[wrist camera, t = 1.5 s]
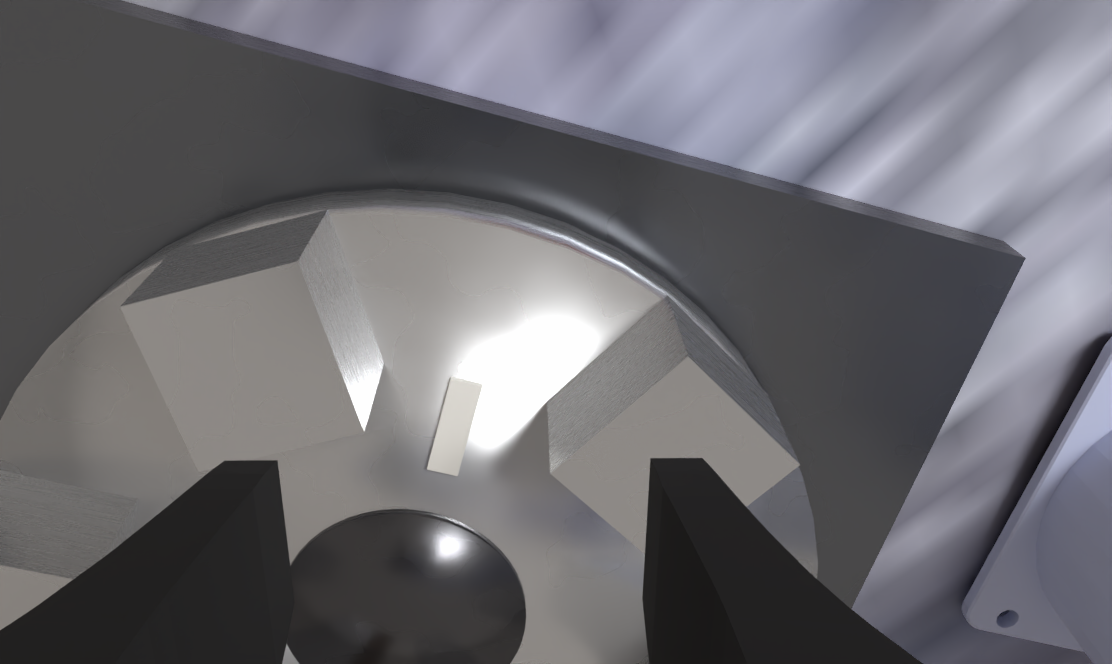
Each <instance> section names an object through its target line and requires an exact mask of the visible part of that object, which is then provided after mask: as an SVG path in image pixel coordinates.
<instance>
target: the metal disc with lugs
mask: <svg viewBox="0 0 1112 664" xmlns="http://www.w3.org/2000/svg"><path fill="white" fill-rule="evenodd" d="M650 458H703V459H704V460H705V461H706V462H707V463H708V464H709V465H710V466H711V467H712V469H713V470H714V471H715V472H716V473H717V474H718V475H719V476H720V478H721V479H722V480H723V481H724V482H725V483H726V484H727V486H728V487H729V488H730V489H731V490H732V491H733V492H734V494H735V495H736V496H737V497H738V498H739V499H740V500H741V502H742V503H743V504H744V505H745V506H746V507H747V508H748V509H749V510H750V511H751V513H752V514H753V515H754V516H755V517H756V518H757V519H758V520H759V521H760V522H761V524H762V525H763V526H764V527H765V528H766V529H767V530H768V531H769V532H770V533H771V534H772V535H773V536H774V537H775V538H776V539H777V540H778V541H779V542H780V543H781V544H782V545H783V546H784V547H785V548H786V549H787V550H788V551H789V552H790V553H791V554H792V555H793V556H794V557H795V558H796V559H797V560H798V562H799V563H800V564H801V565H802V566H803V567H805V568H806V569H807V570H808V571H809V572H810V573H811V574H812V575H813V576H814V577H815V578H816V579H817V572H818V558H817V547H816V537H815V527H814V518H813V514H812V510H811V507H810V503H809V499H808V495H807V491H806V488H805V484H804V480H803V476H802V473H801V471H800V468H799V465H800V463H799V461H798V459H797V457H796V454H795V452H794V450H793V448H792V446H791V444H790V442H789V439H788V437H787V435H786V433H785V431H784V429H783V426H782V424H781V422H780V420H779V418H778V416H777V414H776V411H775V409H774V407H773V405H772V403H771V401H770V399H769V396H768V394H767V393H766V392H765V391H764V390H763V388H762V387H761V385H760V384H759V382H758V381H757V379H756V377H755V376H754V374H753V373H752V371H751V370H750V368H749V367H748V365H747V363H746V362H745V360H744V359H743V357H742V356H741V354H740V353H739V351H738V350H737V349H736V348H735V346H734V345H733V344H732V343H731V342H730V341H729V340H728V338H727V337H726V336H725V335H724V334H723V333H722V332H721V330H720V329H719V328H718V327H717V326H716V325H715V323H714V322H713V321H712V320H711V319H710V318H709V317H708V315H707V314H706V313H705V312H704V311H703V310H701V309H700V308H699V307H698V306H697V305H696V304H694V303H693V302H692V301H691V300H690V299H689V298H687V297H686V296H685V295H684V294H683V293H682V292H681V291H679V290H678V289H677V288H676V287H675V286H674V285H672V284H671V283H670V282H669V281H668V280H667V279H665V278H664V277H663V276H661V275H660V274H658V273H657V272H655V271H653V270H652V269H650V268H649V267H647V266H646V265H644V264H643V263H641V262H640V261H638V260H637V259H635V258H633V257H632V256H630V255H629V254H627V253H626V252H624V251H623V250H621V249H620V248H618V247H616V246H614V245H612V244H610V243H608V242H606V241H603V240H601V239H599V238H597V237H595V236H593V235H591V234H589V233H587V232H585V231H582V230H580V229H578V228H576V227H574V226H572V225H570V224H568V223H566V222H563V221H560V220H556V219H553V218H550V217H547V216H544V215H541V214H538V213H535V212H532V211H529V210H526V209H523V208H520V207H517V206H514V205H511V204H507V203H501V202H496V201H491V200H486V199H481V198H475V197H470V196H465V195H460V194H455V193H449V192H434V191H419V190H403V189H374V190H358V191H341V192H327V193H322V194H317V195H312V196H307V197H301V198H296V199H291V200H286V201H281V202H275V203H270V204H267V205H264V206H261V207H258V208H255V209H252V210H249V211H246V212H243V213H240V214H237V215H234V216H231V217H228V218H225V219H222V220H219V221H216V222H214V223H212V224H210V225H208V226H206V227H204V228H202V229H200V230H198V231H196V232H194V233H192V234H190V235H188V236H186V237H184V238H182V239H180V240H178V241H176V242H174V243H171V244H169V245H167V246H165V247H164V248H162V249H161V250H159V251H158V252H157V253H155V254H154V255H152V256H151V257H149V258H148V259H146V260H145V261H144V262H142V263H141V264H139V265H138V266H136V267H135V268H133V269H132V270H131V271H129V272H128V273H126V274H125V275H123V276H122V277H120V278H119V279H118V280H117V281H116V282H115V283H114V284H113V285H112V286H111V287H110V288H109V289H108V290H107V291H105V292H104V293H103V294H102V295H101V296H100V297H99V298H98V299H97V300H96V301H95V302H94V303H93V304H92V305H91V306H90V307H89V308H88V309H86V310H85V311H84V312H83V313H82V314H81V315H80V316H79V317H78V318H77V319H76V320H75V321H74V322H73V323H72V324H71V325H70V326H69V327H68V328H67V329H66V330H65V331H64V332H63V333H62V334H61V335H60V336H59V337H58V338H57V339H56V340H55V341H54V342H53V343H52V344H51V345H50V346H49V347H48V349H47V350H46V351H45V352H44V354H43V355H42V356H41V358H40V359H39V360H38V362H37V363H36V364H35V366H34V367H33V368H32V369H31V371H30V372H29V373H28V375H27V376H26V377H25V379H24V380H23V381H22V383H21V384H20V385H19V387H18V388H17V389H16V391H15V393H14V395H13V397H12V399H11V401H10V403H9V405H8V407H7V408H6V410H5V412H4V414H3V416H2V418H1V420H0V630H1V629H3V628H4V627H6V626H7V625H9V624H11V623H12V622H14V621H15V620H17V619H18V618H20V617H21V616H23V615H24V614H26V613H27V612H29V611H30V610H32V609H33V608H35V607H36V606H37V605H39V604H40V603H42V602H43V601H44V600H46V599H47V598H48V597H50V596H51V595H53V594H54V593H55V592H57V591H58V590H59V589H61V588H62V587H64V586H65V585H66V584H68V583H69V582H70V581H72V580H73V579H75V578H76V577H77V576H79V575H80V574H81V573H83V572H84V571H86V570H87V569H88V568H90V567H91V566H92V565H94V564H95V563H97V562H98V561H99V560H101V559H102V558H103V557H105V556H106V555H107V554H109V553H110V552H111V551H113V550H114V549H115V548H116V547H118V546H119V545H120V544H121V543H123V542H124V541H125V540H126V539H128V538H129V537H130V536H131V535H133V534H134V533H135V532H136V531H138V530H139V529H140V528H141V527H143V526H144V525H145V524H146V523H148V522H149V521H150V520H151V519H153V518H154V517H155V516H156V515H158V514H159V513H160V512H161V511H162V510H164V509H165V508H166V507H167V506H168V505H170V504H171V503H172V502H173V501H174V500H176V499H177V498H178V497H179V496H181V495H182V494H183V493H184V492H185V491H187V490H188V489H189V488H190V487H191V486H193V485H194V484H195V483H196V482H198V481H199V480H200V479H201V478H202V477H204V476H205V475H206V474H207V473H209V472H210V471H211V470H213V469H214V468H215V467H217V466H218V465H219V464H221V463H222V462H223V461H234V460H278V469H279V477H280V485H281V493H282V502H283V510H284V518H285V527H286V535H287V543H288V551H289V560H290V568H291V576H292V584H293V593H294V601H295V603H294V608H293V613H292V618H291V623H290V628H289V634H288V639H287V644H286V648H285V653H284V657H283V662H282V664H649V658H648V649H647V640H646V630H645V621H644V611H643V601H642V595H643V578H644V561H645V544H646V526H647V509H648V492H649V474H650Z"/></svg>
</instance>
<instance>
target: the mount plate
mask: <svg viewBox="0 0 1112 664" xmlns="http://www.w3.org/2000/svg"><path fill="white" fill-rule="evenodd" d="M374 189H403V190H419V191H434V192H449V193H455V194H460V195H465V196H470V197H475V198H481V199H486V200H491V201H496V202H501V203H507V204H511V205H514V206H517V207H520V208H523V209H526V210H529V211H532V212H535V213H538V214H541V215H544V216H547V217H550V218H553V219H556V220H560V221H563V222H566V223H568V224H570V225H572V226H574V227H576V228H578V229H580V230H582V231H585V232H587V233H589V234H591V235H593V236H595V237H597V238H599V239H601V240H603V241H606V242H608V243H610V244H612V245H614V246H616V247H618V248H620V249H621V250H623V251H624V252H626V253H627V254H629V255H630V256H632V257H633V258H635V259H637V260H638V261H640V262H641V263H643V264H644V265H646V266H647V267H649V268H650V269H652V270H653V271H655V272H657V273H658V274H660V275H661V276H663V277H664V278H665V279H667V280H668V281H669V282H670V283H671V284H672V285H674V286H675V287H676V288H677V289H678V290H679V291H681V292H682V293H683V294H684V295H685V296H686V297H687V298H689V299H690V300H691V301H692V302H693V303H694V304H696V305H697V306H698V307H699V308H700V309H701V310H703V311H704V312H705V313H706V314H707V315H708V317H709V318H710V319H711V320H712V321H713V322H714V323H715V325H716V326H717V327H718V328H719V329H720V330H721V332H722V333H723V334H724V335H725V336H726V337H727V338H728V340H729V341H730V342H731V343H732V344H733V345H734V346H735V348H736V349H737V350H738V351H739V353H740V354H741V356H742V357H743V359H744V360H745V362H746V363H747V365H748V367H749V368H750V370H751V371H752V373H753V374H754V376H755V377H756V379H757V381H758V382H759V384H760V385H761V387H762V388H763V390H764V391H765V392H766V393H767V394H768V396H769V399H770V401H771V403H772V405H773V407H774V409H775V411H776V414H777V416H778V418H779V420H780V422H781V424H782V426H783V429H784V431H785V433H786V435H787V437H788V439H789V442H790V444H791V446H792V448H793V450H794V452H795V454H796V457H797V459H798V461H799V463H800V465H799V468H800V471H801V473H802V476H803V480H804V484H805V488H806V491H807V495H808V499H809V503H810V507H811V510H812V514H813V518H814V527H815V537H816V547H817V558H818V572H817V580H819V581H820V582H821V583H822V584H823V585H824V586H825V587H827V588H828V589H829V590H830V591H831V592H832V593H833V594H834V595H836V596H837V597H838V598H839V599H840V600H841V601H842V602H844V603H845V604H846V605H847V606H848V607H849V608H850V609H851V608H852V606H853V604H854V602H855V600H856V598H857V596H858V594H859V592H860V590H861V588H862V586H863V584H864V582H865V580H866V578H867V576H868V574H869V572H870V570H871V568H872V566H873V564H874V562H875V560H876V558H877V556H878V554H879V552H880V550H881V548H882V546H883V544H884V542H885V540H886V538H887V536H888V534H889V532H890V530H891V528H892V526H893V524H894V522H895V520H896V517H897V515H898V513H899V511H900V509H901V507H902V505H903V503H904V501H905V499H906V497H907V495H908V493H909V491H910V489H911V487H912V485H913V483H914V481H915V479H916V477H917V475H918V473H919V471H920V469H921V467H922V465H923V463H924V461H925V459H926V457H927V455H928V453H929V451H930V449H931V447H932V445H933V443H934V441H935V439H936V437H937V435H938V433H939V431H940V429H941V427H942V425H943V423H944V421H945V419H946V417H947V415H948V413H949V411H950V409H951V407H952V405H953V403H954V401H955V399H956V397H957V395H958V393H959V391H960V389H961V387H962V385H963V383H964V381H965V379H966V377H967V375H968V373H969V371H970V369H971V367H972V365H973V363H974V361H975V359H976V357H977V355H978V353H979V351H980V349H981V347H982V345H983V343H984V341H985V339H986V337H987V335H988V333H989V331H990V329H991V327H992V325H993V323H994V321H995V319H996V317H997V315H998V313H999V311H1000V309H1001V306H1002V304H1003V302H1004V300H1005V298H1006V296H1007V294H1008V292H1009V290H1010V288H1011V286H1012V284H1013V282H1014V280H1015V278H1016V276H1017V274H1018V272H1019V270H1020V268H1021V266H1022V264H1023V262H1024V260H1025V257H1023V256H1022V255H1021V254H1019V253H1018V252H1017V251H1016V250H1014V249H1013V248H1012V247H1010V246H1009V245H1008V244H1006V243H1005V242H1004V241H1001V240H997V239H994V238H990V237H986V236H983V235H979V234H975V233H972V232H968V231H964V230H961V229H957V228H953V227H950V226H946V225H942V224H939V223H935V222H931V221H928V220H924V219H920V218H917V217H913V216H909V215H906V214H902V213H898V212H895V211H891V210H887V209H884V208H880V207H876V206H873V205H869V204H865V203H862V202H858V201H854V200H851V199H847V198H843V197H840V196H836V195H832V194H829V193H825V192H821V191H818V190H814V189H810V188H807V187H803V186H799V185H796V184H792V183H788V182H785V181H781V180H777V179H774V178H770V177H766V176H763V175H759V174H755V173H752V172H748V171H744V170H741V169H737V168H733V167H730V166H726V165H722V164H719V163H715V162H711V161H708V160H704V159H700V158H697V157H693V156H689V155H686V154H682V153H678V152H675V151H671V150H667V149H664V148H660V147H656V146H653V145H649V144H645V143H642V142H638V141H634V140H631V139H627V138H623V137H620V136H616V135H612V134H609V133H605V132H601V131H598V130H594V129H590V128H587V127H583V126H579V125H576V124H572V123H568V122H565V121H561V120H557V119H554V118H550V117H546V116H543V115H539V114H535V113H532V112H528V111H524V110H521V109H517V108H513V107H510V106H506V105H502V104H499V103H495V102H491V101H488V100H484V99H480V98H477V97H473V96H469V95H466V94H462V93H458V92H455V91H451V90H447V89H444V88H440V87H436V86H433V85H429V84H425V83H422V82H418V81H414V80H411V79H407V78H403V77H400V76H396V75H392V74H389V73H385V72H381V71H378V70H374V69H370V68H367V67H363V66H359V65H356V64H352V63H348V62H345V61H341V60H337V59H334V58H330V57H326V56H323V55H319V54H315V53H312V52H308V51H304V50H301V49H297V48H293V47H290V46H286V45H282V44H279V43H275V42H271V41H268V40H264V39H260V38H257V37H253V36H249V35H246V34H242V33H238V32H235V31H231V30H227V29H224V28H220V27H216V26H213V25H209V24H205V23H202V22H198V21H194V20H191V19H187V18H183V17H180V16H176V15H172V14H169V13H165V12H161V11H158V10H154V9H150V8H147V7H143V6H139V5H136V4H132V3H128V2H125V1H121V0H0V420H1V418H2V416H3V414H4V412H5V410H6V408H7V407H8V405H9V403H10V401H11V399H12V397H13V395H14V393H15V391H16V389H17V388H18V387H19V385H20V384H21V383H22V381H23V380H24V379H25V377H26V376H27V375H28V373H29V372H30V371H31V369H32V368H33V367H34V366H35V364H36V363H37V362H38V360H39V359H40V358H41V356H42V355H43V354H44V352H45V351H46V350H47V349H48V347H49V346H50V345H51V344H52V343H53V342H54V341H55V340H56V339H57V338H58V337H59V336H60V335H61V334H62V333H63V332H64V331H65V330H66V329H67V328H68V327H69V326H70V325H71V324H72V323H73V322H74V321H75V320H76V319H77V318H78V317H79V316H80V315H81V314H82V313H83V312H84V311H85V310H86V309H88V308H89V307H90V306H91V305H92V304H93V303H94V302H95V301H96V300H97V299H98V298H99V297H100V296H101V295H102V294H103V293H104V292H105V291H107V290H108V289H109V288H110V287H111V286H112V285H113V284H114V283H115V282H116V281H117V280H118V279H119V278H120V277H122V276H123V275H125V274H126V273H128V272H129V271H131V270H132V269H133V268H135V267H136V266H138V265H139V264H141V263H142V262H144V261H145V260H146V259H148V258H149V257H151V256H152V255H154V254H155V253H157V252H158V251H159V250H161V249H162V248H164V247H165V246H167V245H169V244H171V243H174V242H176V241H178V240H180V239H182V238H184V237H186V236H188V235H190V234H192V233H194V232H196V231H198V230H200V229H202V228H204V227H206V226H208V225H210V224H212V223H214V222H216V221H219V220H222V219H225V218H228V217H231V216H234V215H237V214H240V213H243V212H246V211H249V210H252V209H255V208H258V207H261V206H264V205H267V204H270V203H275V202H281V201H286V200H291V199H296V198H301V197H307V196H312V195H317V194H322V193H327V192H341V191H358V190H374Z"/></svg>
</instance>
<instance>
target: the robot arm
mask: <svg viewBox="0 0 1112 664" xmlns="http://www.w3.org/2000/svg"><path fill="white" fill-rule="evenodd" d="M642 601H643V611H644V621H645V630H646V640H647V649H648V658H649V664H923V663H921V662H920V661H918V660H917V659H916V658H914V657H913V656H912V655H910V654H909V653H908V652H906V651H905V650H904V649H902V648H901V647H900V646H898V645H897V644H896V643H894V642H893V641H892V640H890V639H889V638H887V637H886V636H885V635H883V634H882V633H881V632H879V631H878V630H877V629H875V628H874V627H873V626H871V625H870V624H869V623H868V622H866V621H865V620H864V619H863V618H861V617H860V616H859V615H858V614H857V613H855V612H854V611H853V610H852V609H850V608H849V607H848V606H847V605H846V604H845V603H844V602H842V601H841V600H840V599H839V598H838V597H837V596H836V595H834V594H833V593H832V592H831V591H830V590H829V589H828V588H827V587H825V586H824V585H823V584H822V583H821V582H820V581H819V580H817V579H816V578H815V577H814V576H813V575H812V574H811V573H810V572H809V571H808V570H807V569H806V568H805V567H803V566H802V565H801V564H800V563H799V562H798V560H797V559H796V558H795V557H794V556H793V555H792V554H791V553H790V552H789V551H788V550H787V549H786V548H785V547H784V546H783V545H782V544H781V543H780V542H779V541H778V540H777V539H776V538H775V537H774V536H773V535H772V534H771V533H770V532H769V531H768V530H767V529H766V528H765V527H764V526H763V525H762V524H761V522H760V521H759V520H758V519H757V518H756V517H755V516H754V515H753V514H752V513H751V511H750V510H749V509H748V508H747V507H746V506H745V505H744V504H743V503H742V502H741V500H740V499H739V498H738V497H737V496H736V495H735V494H734V492H733V491H732V490H731V489H730V488H729V487H728V486H727V484H726V483H725V482H724V481H723V480H722V479H721V478H720V476H719V475H718V474H717V473H716V472H715V471H714V470H713V469H712V467H711V466H710V465H709V464H708V463H707V462H706V461H705V460H704V459H703V458H650V474H649V492H648V509H647V526H646V544H645V561H644V578H643V595H642ZM294 603H295V601H294V593H293V584H292V576H291V568H290V560H289V551H288V543H287V535H286V527H285V518H284V510H283V502H282V493H281V485H280V477H279V469H278V460H234V461H223V462H222V463H221V464H219V465H218V466H217V467H215V468H214V469H213V470H211V471H210V472H209V473H207V474H206V475H205V476H204V477H202V478H201V479H200V480H199V481H198V482H196V483H195V484H194V485H193V486H191V487H190V488H189V489H188V490H187V491H185V492H184V493H183V494H182V495H181V496H179V497H178V498H177V499H176V500H174V501H173V502H172V503H171V504H170V505H168V506H167V507H166V508H165V509H164V510H162V511H161V512H160V513H159V514H158V515H156V516H155V517H154V518H153V519H151V520H150V521H149V522H148V523H146V524H145V525H144V526H143V527H141V528H140V529H139V530H138V531H136V532H135V533H134V534H133V535H131V536H130V537H129V538H128V539H126V540H125V541H124V542H123V543H121V544H120V545H119V546H118V547H116V548H115V549H114V550H113V551H111V552H110V553H109V554H107V555H106V556H105V557H103V558H102V559H101V560H99V561H98V562H97V563H95V564H94V565H92V566H91V567H90V568H88V569H87V570H86V571H84V572H83V573H81V574H80V575H79V576H77V577H76V578H75V579H73V580H72V581H70V582H69V583H68V584H66V585H65V586H64V587H62V588H61V589H59V590H58V591H57V592H55V593H54V594H53V595H51V596H50V597H48V598H47V599H46V600H44V601H43V602H42V603H40V604H39V605H37V606H36V607H35V608H33V609H32V610H30V611H29V612H27V613H26V614H24V615H23V616H21V617H20V618H18V619H17V620H15V621H14V622H12V623H11V624H9V625H7V626H6V627H4V628H3V629H1V630H0V664H282V662H283V657H284V653H285V648H286V644H287V639H288V634H289V628H290V623H291V618H292V613H293V608H294ZM1006 610H1010V611H1009V612H1008V613H1007V614H1006V615H1003V616H999V615H1000V613H1002V612H1004V611H1006ZM962 612H963V615H964V617H965V618H966V620H967V622H968V623H969V624H970V625H971V626H972V627H973V628H976V629H978V630H983V631H987V632H992V633H997V634H1001V635H1006V636H1011V637H1015V638H1020V639H1025V640H1029V641H1034V642H1039V643H1043V644H1048V645H1053V646H1057V647H1062V648H1067V649H1072V650H1076V651H1081V652H1085V653H1086V655H1087V656H1088V657H1089V659H1090V660H1091V661H1092V663H1093V664H1112V337H1111V338H1110V339H1109V340H1108V342H1107V343H1106V344H1105V346H1104V347H1103V349H1102V351H1101V353H1100V355H1099V356H1098V358H1097V360H1096V362H1095V364H1094V366H1093V367H1092V369H1091V371H1090V373H1089V375H1088V376H1087V378H1086V380H1085V382H1084V384H1083V385H1082V387H1081V389H1080V391H1079V393H1078V395H1077V396H1076V398H1075V400H1074V402H1073V404H1072V405H1071V407H1070V409H1069V411H1068V413H1067V414H1066V416H1065V418H1064V420H1063V422H1062V424H1061V425H1060V427H1059V429H1058V431H1057V433H1056V434H1055V436H1054V438H1053V440H1052V442H1051V443H1050V445H1049V447H1048V449H1047V451H1046V452H1045V454H1044V456H1043V458H1042V460H1041V462H1040V463H1039V465H1038V467H1037V469H1036V471H1035V472H1034V474H1033V476H1032V478H1031V480H1030V481H1029V483H1028V485H1027V487H1026V489H1025V491H1024V492H1023V494H1022V496H1021V498H1020V500H1019V501H1018V503H1017V505H1016V507H1015V509H1014V510H1013V512H1012V514H1011V516H1010V518H1009V519H1008V521H1007V523H1006V525H1005V527H1004V529H1003V530H1002V532H1001V534H1000V536H999V538H998V539H997V541H996V543H995V545H994V547H993V548H992V550H991V552H990V554H989V556H988V558H987V559H986V561H985V563H984V565H983V567H982V568H981V570H980V572H979V574H978V576H977V577H976V579H975V581H974V583H973V585H972V586H971V588H970V590H969V592H968V594H967V596H966V597H965V599H964V601H963V604H962Z"/></svg>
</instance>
